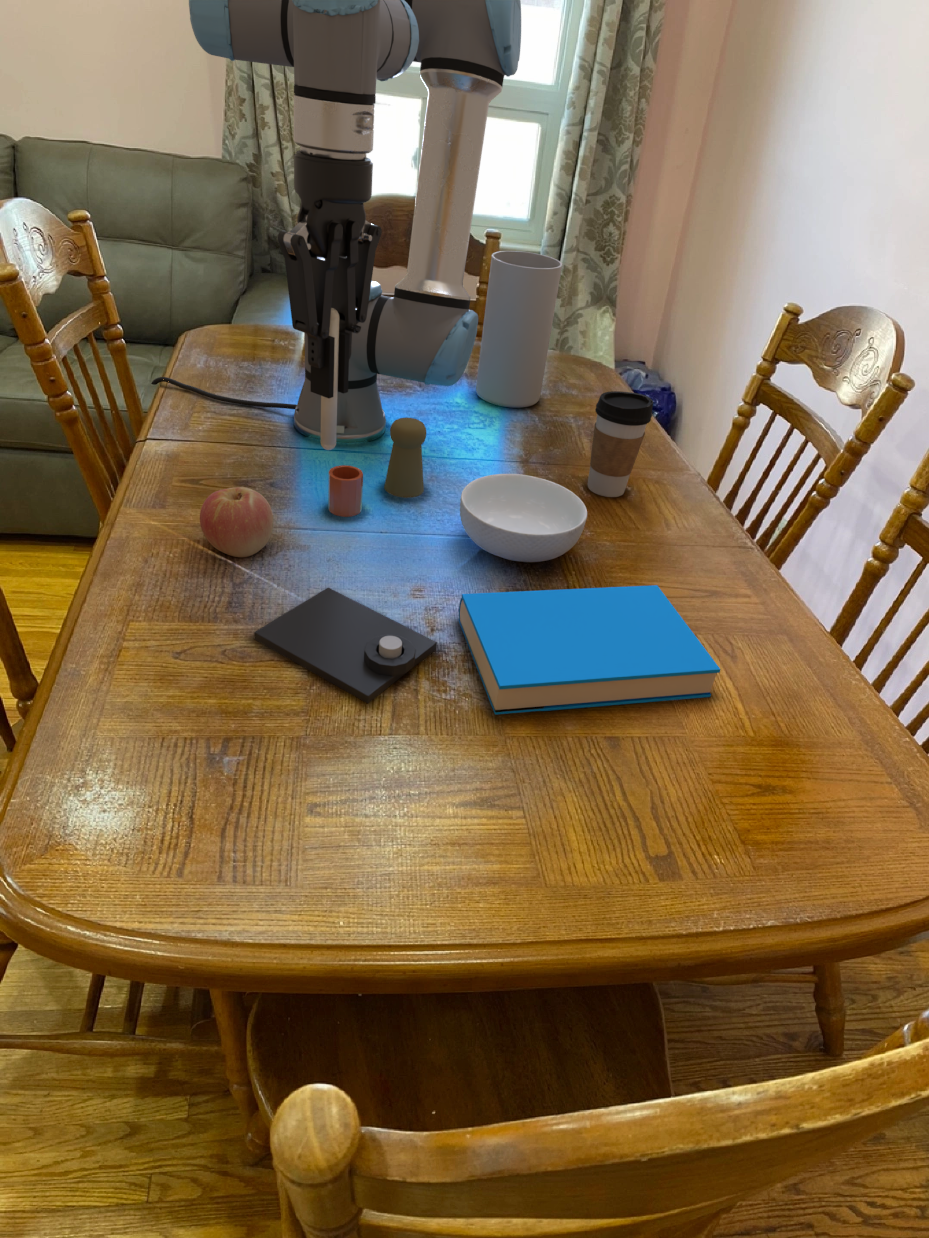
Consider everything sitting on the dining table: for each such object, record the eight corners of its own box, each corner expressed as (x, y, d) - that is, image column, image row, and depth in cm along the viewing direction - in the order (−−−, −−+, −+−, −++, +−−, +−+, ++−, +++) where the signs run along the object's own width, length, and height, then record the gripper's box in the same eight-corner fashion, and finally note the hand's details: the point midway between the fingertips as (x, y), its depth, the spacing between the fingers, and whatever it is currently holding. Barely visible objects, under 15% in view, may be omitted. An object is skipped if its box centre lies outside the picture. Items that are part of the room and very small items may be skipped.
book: (722, 669, 88) (501, 685, 81) (710, 699, 91) (495, 717, 84) (655, 581, 101) (459, 588, 95) (646, 609, 104) (455, 618, 97)
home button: (374, 652, 87) (374, 642, 86) (388, 642, 89) (388, 632, 88) (392, 662, 86) (392, 652, 85) (405, 651, 88) (406, 641, 87)
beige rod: (317, 449, 96) (318, 307, 86) (327, 445, 97) (330, 305, 88) (328, 454, 95) (331, 311, 86) (339, 449, 96) (343, 309, 87)
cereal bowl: (492, 590, 103) (499, 542, 99) (434, 527, 114) (439, 481, 110) (602, 568, 110) (613, 522, 106) (537, 510, 122) (545, 466, 118)
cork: (431, 489, 124) (437, 420, 117) (412, 504, 119) (418, 433, 113) (395, 478, 125) (400, 409, 119) (376, 492, 121) (379, 422, 114)
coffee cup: (631, 505, 127) (655, 412, 118) (577, 495, 127) (596, 402, 119) (633, 482, 133) (655, 393, 125) (581, 472, 134) (600, 383, 125)
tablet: (254, 640, 90) (253, 621, 88) (328, 594, 98) (328, 577, 97) (372, 707, 83) (373, 688, 82) (441, 652, 92) (443, 634, 90)
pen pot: (321, 511, 114) (321, 472, 111) (343, 500, 118) (344, 462, 114) (346, 523, 113) (347, 483, 109) (368, 511, 116) (370, 473, 112)
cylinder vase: (550, 397, 161) (574, 262, 146) (519, 414, 152) (541, 272, 137) (496, 380, 166) (513, 248, 151) (463, 395, 157) (478, 256, 142)
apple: (239, 575, 100) (236, 517, 95) (187, 550, 103) (181, 492, 98) (288, 548, 106) (287, 492, 101) (237, 524, 109) (234, 469, 105)
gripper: (309, 160, 72) (308, 417, 85) (411, 157, 82) (396, 387, 96) (248, 146, 75) (256, 397, 88) (354, 145, 85) (347, 369, 99)
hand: (329, 391), depth 92 cm, fingers closed on beige rod, 2 cm apart
